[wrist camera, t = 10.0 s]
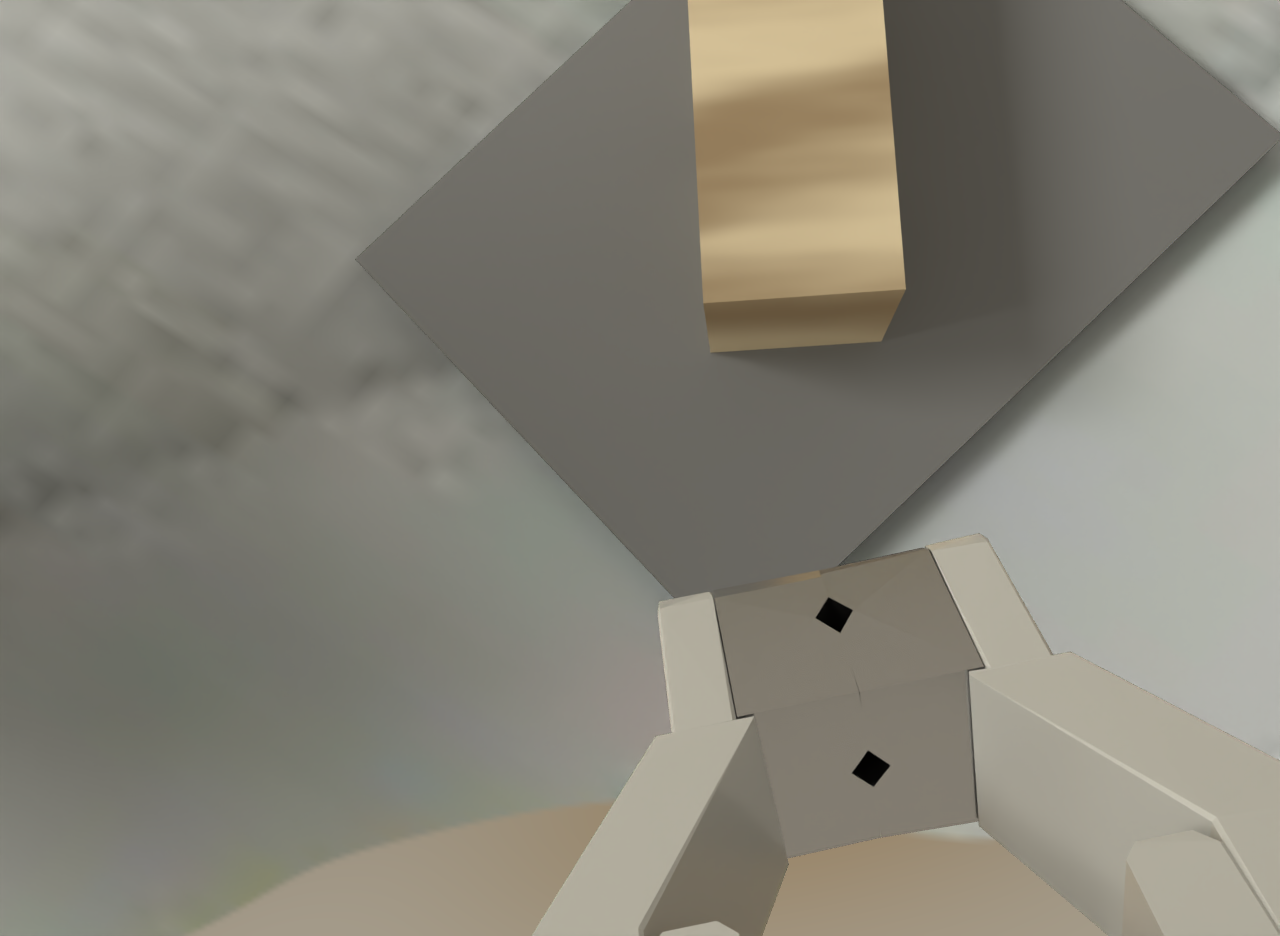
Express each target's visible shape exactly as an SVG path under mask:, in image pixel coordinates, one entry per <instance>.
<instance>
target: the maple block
mask: <svg viewBox="0 0 1280 936" xmlns="http://www.w3.org/2000/svg"><path fill="white" fill-rule="evenodd" d="M688 15H689V34H690V54H691V73H692V93H693V112H694V132H695V151H696V171H697V190H698V210H699V229H700V249H701V268H702V288H703V305H704V312H705V319H706V326H707V332H708V339H709V346H710V353H713V352H728V351H743V350H759V349H774V348H790V347H805V346H820V345H836V344H851V343H866V342H881V341H882V339H883V337H884V335H885V333H886V331H887V328H888V326H889V324H890V322H891V320H892V318H893V316H894V313H895V311H896V309H897V307H898V305H899V303H900V301H901V299H902V296H903V294H904V292H905V290H906V284H905V272H904V259H903V247H902V234H901V222H900V209H899V197H898V184H897V172H896V159H895V147H894V134H893V122H892V109H891V97H890V84H889V72H888V59H887V47H886V34H885V22H884V9H883V0H688Z"/></svg>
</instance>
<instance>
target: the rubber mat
mask: <svg viewBox="0 0 1280 936" xmlns="http://www.w3.org/2000/svg"><path fill="white" fill-rule="evenodd" d="M883 9H884V22H885V34H886V47H887V59H888V72H889V84H890V97H891V109H892V122H893V134H894V147H895V159H896V172H897V184H898V197H899V209H900V222H901V234H902V247H903V259H904V272H905V284H906V290H905V292H904V294H903V296H902V299H901V301H900V303H899V305H898V307H897V309H896V311H895V313H894V316H893V318H892V320H891V322H890V324H889V326H888V328H887V331H886V333H885V335H884V337H883V339H882V341H881V342H866V343H851V344H836V345H820V346H805V347H790V348H774V349H759V350H743V351H728V352H713V353H710V346H709V339H708V332H707V326H706V319H705V312H704V305H703V288H702V268H701V249H700V229H699V210H698V190H697V171H696V151H695V132H694V112H693V93H692V73H691V54H690V34H689V15H688V0H631V1H630V2H629V3H628V4H627V5H626V6H625V7H624V8H623V9H621V10H620V11H619V12H618V13H617V14H616V15H615V16H614V17H613V18H612V19H611V20H610V21H609V22H608V23H607V24H605V25H604V26H603V27H602V28H601V29H600V30H599V31H598V32H597V33H596V34H595V35H594V36H593V37H592V38H591V39H589V40H588V41H587V42H586V43H585V44H584V45H583V46H582V47H581V48H580V49H579V50H578V51H577V52H576V53H575V54H573V55H572V56H571V57H570V58H569V59H568V60H567V61H566V62H565V63H564V64H563V65H562V66H561V67H560V68H559V69H558V70H556V71H555V72H554V73H553V74H552V75H551V76H550V77H549V78H548V79H547V80H546V81H545V82H544V83H543V84H542V85H540V86H539V87H538V88H537V89H536V90H535V91H534V92H533V93H532V94H531V95H530V96H529V97H528V98H527V99H526V100H524V101H523V102H522V103H521V104H520V105H519V106H518V107H517V108H516V109H515V110H514V111H513V112H512V113H511V114H510V115H508V116H507V117H506V118H505V119H504V120H503V121H502V122H501V123H500V124H499V125H498V126H497V127H496V128H495V129H494V130H492V131H491V132H490V133H489V134H488V135H487V136H486V137H485V138H484V139H483V140H482V141H481V142H480V143H479V144H478V145H476V146H475V147H474V148H473V149H472V150H471V151H470V152H469V153H468V154H467V155H466V156H465V157H464V158H463V159H462V160H460V161H459V162H458V163H457V164H456V165H455V166H454V167H453V168H452V169H451V170H450V171H449V172H448V173H447V174H446V175H444V176H443V177H442V178H441V179H440V180H439V181H438V182H437V183H436V184H435V185H434V186H433V187H432V188H431V189H430V190H428V191H427V192H426V193H425V194H424V195H423V196H422V197H421V198H420V199H419V200H418V201H417V202H416V203H415V204H414V205H413V206H411V207H410V208H409V209H408V210H407V211H406V212H405V213H404V214H403V215H402V216H401V217H400V218H399V219H398V220H397V221H395V222H394V223H393V224H392V225H391V226H390V227H389V228H388V229H387V230H386V231H385V232H384V233H383V234H382V235H381V236H379V237H378V238H377V239H376V240H375V241H374V242H373V243H372V244H371V245H370V246H369V247H368V248H367V249H366V250H365V251H363V252H362V253H361V254H360V255H359V256H358V257H357V258H356V259H355V260H356V261H357V262H358V263H359V264H360V265H361V266H362V267H363V268H364V269H365V271H366V272H367V273H368V274H369V275H370V276H371V277H372V278H373V279H374V280H375V281H376V282H377V283H378V284H379V285H380V286H381V287H382V289H383V290H384V291H385V292H386V293H387V294H388V295H389V296H390V297H391V298H392V299H393V300H394V301H395V302H396V303H397V304H398V306H399V307H400V308H401V309H402V310H403V311H404V312H405V313H406V314H407V315H408V316H409V317H410V318H411V319H412V320H413V321H414V323H415V324H416V325H417V326H418V327H419V328H420V329H421V330H422V331H423V332H424V333H425V334H426V335H427V336H428V337H429V338H430V340H431V341H432V342H433V343H434V344H435V345H436V346H437V347H438V348H439V349H440V350H441V351H442V352H443V353H444V354H445V355H446V356H447V358H448V359H449V360H450V361H451V362H452V363H453V364H454V365H455V366H456V367H457V368H458V369H459V370H460V371H461V372H462V373H463V375H464V376H465V377H466V378H467V379H468V380H469V381H470V382H471V383H472V384H473V385H474V386H475V387H476V388H477V389H478V390H479V392H480V393H481V394H482V395H483V396H484V397H485V398H486V399H487V400H488V401H489V402H490V403H491V404H492V405H493V406H494V407H495V409H496V410H497V411H498V412H499V413H500V414H501V415H502V416H503V417H504V418H505V419H506V420H507V421H508V422H509V423H510V424H511V425H512V427H513V428H514V429H515V430H516V431H517V432H518V433H519V434H520V435H521V436H522V437H523V438H524V439H525V440H526V441H527V442H528V444H529V445H530V446H531V447H532V448H533V449H534V450H535V451H536V452H537V453H538V454H539V455H540V456H541V457H542V458H543V459H544V461H545V462H546V463H547V464H548V465H549V466H550V467H551V468H552V469H553V470H554V471H555V472H556V473H557V474H558V475H559V476H560V478H561V479H562V480H563V481H564V482H565V483H566V484H567V485H568V486H569V487H570V488H571V489H572V490H573V491H574V492H575V493H576V494H577V496H578V497H579V498H580V499H581V500H582V501H583V502H584V503H585V504H586V505H587V506H588V507H589V508H590V509H591V510H592V511H593V513H594V514H595V515H596V516H597V517H598V518H599V519H600V520H601V521H602V522H603V523H604V524H605V525H606V526H607V527H608V528H609V530H610V531H611V532H612V533H613V534H614V535H615V536H616V537H617V538H618V539H619V540H620V541H621V542H622V543H623V544H624V545H625V547H626V548H627V549H628V550H629V551H630V552H631V553H632V554H633V555H634V556H635V557H636V558H637V559H638V560H639V561H640V562H641V563H642V565H643V566H644V567H645V568H646V569H647V570H648V571H649V572H650V573H651V574H652V575H653V576H654V577H655V578H656V579H657V580H658V582H659V583H660V584H661V585H662V586H663V587H664V588H665V589H666V590H667V591H668V592H669V593H670V594H671V595H672V596H673V597H674V598H679V597H684V596H690V595H695V594H700V593H705V592H712V593H713V596H714V592H713V590H716V589H722V588H727V587H732V586H738V585H743V584H748V583H753V582H759V581H764V580H769V579H775V578H780V577H785V576H791V575H796V574H801V573H806V572H812V571H817V570H822V569H827V568H832V567H836V566H838V565H839V564H840V563H841V562H842V561H843V560H844V559H845V558H846V557H847V556H849V555H850V554H851V553H852V552H853V551H854V550H855V549H856V548H857V547H858V546H859V545H860V544H861V543H862V542H863V541H864V540H865V539H866V538H867V537H868V536H869V535H870V534H871V533H872V532H873V531H874V530H876V529H877V528H878V527H879V526H880V525H881V524H882V523H883V522H884V521H885V520H886V519H887V518H888V517H889V516H890V515H891V514H892V513H893V512H894V511H895V510H896V509H897V508H898V507H899V506H900V505H901V504H903V503H904V502H905V501H906V500H907V499H908V498H909V497H910V496H911V495H912V494H913V493H914V492H915V491H916V490H917V489H918V488H919V487H920V486H921V485H922V484H923V483H924V482H925V481H926V480H927V479H928V478H930V477H931V476H932V475H933V474H934V473H935V472H936V471H937V470H938V469H939V468H940V467H941V466H942V465H943V464H944V463H945V462H946V461H947V460H948V459H949V458H950V457H951V456H952V455H953V454H954V453H955V452H957V451H958V450H959V449H960V448H961V447H962V446H963V445H964V444H965V443H966V442H967V441H968V440H969V439H970V438H971V437H972V436H973V435H974V434H975V433H976V432H977V431H978V430H979V429H980V428H981V427H982V426H984V425H985V424H986V423H987V422H988V421H989V420H990V419H991V418H992V417H993V416H994V415H995V414H996V413H997V412H998V411H999V410H1000V409H1001V408H1002V407H1003V406H1004V405H1005V404H1006V403H1007V402H1008V401H1009V400H1011V399H1012V398H1013V397H1014V396H1015V395H1016V394H1017V393H1018V392H1019V391H1020V390H1021V389H1022V388H1023V387H1024V386H1025V385H1026V384H1027V383H1028V382H1029V381H1030V380H1031V379H1032V378H1033V377H1034V376H1035V375H1036V374H1038V373H1039V372H1040V371H1041V370H1042V369H1043V368H1044V367H1045V366H1046V365H1047V364H1048V363H1049V362H1050V361H1051V360H1052V359H1053V358H1054V357H1055V356H1056V355H1057V354H1058V353H1059V352H1060V351H1061V350H1062V349H1063V348H1065V347H1066V346H1067V345H1068V344H1069V343H1070V342H1071V341H1072V340H1073V339H1074V338H1075V337H1076V336H1077V335H1078V334H1079V333H1080V332H1081V331H1082V330H1083V329H1084V328H1085V327H1086V326H1087V325H1088V324H1089V323H1090V322H1092V321H1093V320H1094V319H1095V318H1096V317H1097V316H1098V315H1099V314H1100V313H1101V312H1102V311H1103V310H1104V309H1105V308H1106V307H1107V306H1108V305H1109V304H1110V303H1111V302H1112V301H1113V300H1114V299H1115V298H1116V297H1117V296H1119V295H1120V294H1121V293H1122V292H1123V291H1124V290H1125V289H1126V288H1127V287H1128V286H1129V285H1130V284H1131V283H1132V282H1133V281H1134V280H1135V279H1136V278H1137V277H1138V276H1139V275H1140V274H1141V273H1142V272H1143V271H1144V270H1146V269H1147V268H1148V267H1149V266H1150V265H1151V264H1152V263H1153V262H1154V261H1155V260H1156V259H1157V258H1158V257H1159V256H1160V255H1161V254H1162V253H1163V252H1164V251H1165V250H1166V249H1167V248H1168V247H1169V246H1170V245H1171V244H1173V243H1174V242H1175V241H1176V240H1177V239H1178V238H1179V237H1180V236H1181V235H1182V234H1183V233H1184V232H1185V231H1186V230H1187V229H1188V228H1189V227H1190V226H1191V225H1192V224H1193V223H1194V222H1195V221H1196V220H1197V219H1198V218H1200V217H1201V216H1202V215H1203V214H1204V213H1205V212H1206V211H1207V210H1208V209H1209V208H1210V207H1211V206H1212V205H1213V204H1214V203H1215V202H1216V201H1217V200H1218V199H1219V198H1220V197H1221V196H1222V195H1223V194H1224V193H1225V192H1227V191H1228V190H1229V189H1230V188H1231V187H1232V186H1233V185H1234V184H1235V183H1236V182H1237V181H1238V180H1239V179H1240V178H1241V177H1242V176H1243V175H1244V174H1245V173H1246V172H1247V171H1248V170H1249V169H1250V168H1251V167H1252V166H1254V165H1255V164H1256V163H1257V162H1258V161H1259V160H1260V159H1261V158H1262V157H1263V156H1264V155H1265V154H1266V153H1267V152H1268V151H1269V150H1270V149H1271V148H1272V147H1273V146H1274V145H1275V144H1276V143H1277V142H1278V141H1279V140H1280V132H1278V131H1277V130H1276V129H1275V128H1274V127H1272V126H1271V125H1270V124H1269V123H1268V122H1267V121H1265V120H1264V119H1263V118H1262V117H1261V116H1259V115H1258V114H1257V113H1256V112H1255V111H1253V110H1252V109H1251V108H1250V107H1249V106H1247V105H1246V104H1245V103H1244V102H1243V101H1241V100H1240V99H1239V98H1238V97H1237V96H1235V95H1234V94H1233V93H1232V92H1231V91H1229V90H1228V89H1227V88H1226V87H1225V86H1223V85H1222V84H1221V83H1220V82H1219V81H1217V80H1216V79H1215V78H1214V77H1213V76H1211V75H1210V74H1209V73H1208V72H1207V71H1205V70H1204V69H1203V68H1202V67H1201V66H1199V65H1198V64H1197V63H1196V62H1195V61H1193V60H1192V59H1191V58H1190V57H1189V56H1187V55H1186V54H1185V53H1184V52H1183V51H1181V50H1180V49H1179V48H1178V47H1177V46H1175V45H1174V44H1173V43H1172V42H1171V41H1169V40H1168V39H1167V38H1166V37H1165V36H1163V35H1162V34H1161V33H1160V32H1159V31H1158V30H1156V29H1155V28H1154V27H1153V26H1152V25H1150V24H1149V23H1148V22H1147V21H1146V20H1144V19H1143V18H1142V17H1141V16H1140V15H1138V14H1137V13H1136V12H1135V11H1134V10H1132V9H1131V8H1130V7H1129V6H1128V5H1126V4H1125V3H1124V2H1123V1H1122V0H883ZM714 600H715V599H714Z"/></svg>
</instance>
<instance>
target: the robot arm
mask: <svg viewBox="0 0 1280 936" xmlns="http://www.w3.org/2000/svg"><path fill="white" fill-rule="evenodd" d="M713 592H714V596H713V593H712V592H705V593H700V594H695V595H690V596H684V597H679V598H674V599H669V600H664V601H659V606H658V622H659V630H660V639H661V648H662V656H663V665H664V673H665V682H666V690H667V699H668V708H669V716H670V725H671V733H668V734H663V735H659V736H655V738H654V739H653V741H652V743H651V744H650V746H649V747H648V749H647V751H646V752H645V754H644V755H643V757H642V759H641V760H640V762H639V763H638V765H637V767H636V768H635V770H634V772H633V773H632V775H631V776H630V778H629V780H628V781H627V783H626V784H625V786H624V788H623V789H622V791H621V792H620V794H619V796H618V797H617V799H616V800H615V802H614V804H613V805H612V807H611V808H610V810H609V812H608V813H607V815H606V816H605V818H604V820H603V821H602V823H601V825H600V826H599V828H598V830H597V831H596V833H595V834H594V836H593V837H592V839H591V841H590V842H589V844H588V845H587V847H586V849H585V850H584V852H583V853H582V855H581V857H580V858H579V860H578V862H577V863H576V865H575V866H574V868H573V869H572V871H571V873H570V874H569V876H568V878H567V879H566V881H565V883H564V884H563V886H562V887H561V889H560V890H559V892H558V894H557V895H556V897H555V898H554V900H553V902H552V903H551V905H550V906H549V908H548V910H547V912H546V913H545V914H544V916H543V918H542V919H541V921H540V923H539V924H538V926H537V927H536V929H535V931H534V932H533V934H532V936H762V935H763V932H764V929H765V926H766V924H767V921H768V918H769V916H770V913H771V911H772V908H773V905H774V902H775V900H776V897H777V894H778V891H779V889H780V886H781V884H782V881H783V878H784V875H785V873H786V870H787V867H788V865H789V864H788V859H787V858H791V857H796V856H800V855H805V854H809V853H814V852H818V851H823V850H827V849H832V848H836V847H840V846H845V845H850V844H854V843H858V842H863V841H867V840H872V839H876V838H881V837H887V836H893V835H899V834H905V833H911V832H917V831H923V830H929V829H935V828H941V827H947V826H953V825H959V824H965V823H971V822H977V821H979V826H980V827H981V828H982V829H983V830H984V831H986V832H987V833H988V834H989V835H990V836H991V837H993V838H994V839H995V840H996V841H997V842H999V843H1000V844H1001V845H1002V846H1003V847H1004V848H1006V849H1007V850H1008V851H1009V852H1010V853H1011V854H1013V855H1014V856H1015V857H1016V858H1017V859H1019V860H1020V861H1021V862H1022V863H1023V864H1024V865H1026V866H1027V867H1028V868H1029V869H1030V870H1032V871H1033V872H1034V873H1035V874H1036V875H1038V876H1039V877H1040V878H1041V879H1042V880H1043V881H1045V882H1046V883H1047V884H1048V885H1049V886H1050V887H1052V888H1053V889H1054V890H1055V891H1056V892H1057V893H1059V894H1060V895H1061V896H1062V897H1063V898H1065V899H1066V900H1067V901H1068V902H1069V903H1070V904H1072V905H1073V906H1074V907H1075V908H1076V909H1077V910H1079V911H1080V912H1081V913H1082V914H1083V915H1085V916H1086V917H1087V918H1088V919H1089V920H1090V921H1092V922H1093V923H1094V924H1095V925H1096V926H1098V927H1099V928H1100V929H1101V930H1102V931H1103V932H1105V933H1106V934H1107V935H1108V936H1280V761H1279V760H1277V759H1275V758H1274V757H1272V756H1270V755H1268V754H1266V753H1264V752H1262V751H1260V750H1258V749H1256V748H1254V747H1252V746H1251V745H1249V744H1247V743H1245V742H1243V741H1241V740H1239V739H1237V738H1235V737H1233V736H1231V735H1229V734H1228V733H1226V732H1224V731H1222V730H1220V729H1218V728H1216V727H1214V726H1212V725H1210V724H1208V723H1206V722H1205V721H1203V720H1201V719H1199V718H1197V717H1195V716H1193V715H1191V714H1189V713H1187V712H1185V711H1183V710H1182V709H1180V708H1178V707H1176V706H1174V705H1172V704H1170V703H1168V702H1166V701H1164V700H1162V699H1160V698H1159V697H1157V696H1155V695H1153V694H1151V693H1149V692H1147V691H1145V690H1143V689H1141V688H1139V687H1137V686H1136V685H1134V684H1132V683H1130V682H1128V681H1126V680H1124V679H1122V678H1120V677H1118V676H1116V675H1114V674H1113V673H1111V672H1109V671H1107V670H1105V669H1103V668H1101V667H1099V666H1097V665H1095V664H1093V663H1091V662H1090V661H1088V660H1086V659H1084V658H1082V657H1080V656H1078V655H1076V654H1074V653H1072V652H1066V653H1061V654H1056V655H1053V653H1052V651H1051V650H1050V648H1049V646H1048V644H1047V643H1046V641H1045V639H1044V637H1043V636H1042V634H1041V632H1040V630H1039V629H1038V627H1037V625H1036V623H1035V621H1034V620H1033V618H1032V616H1031V614H1030V613H1029V611H1028V609H1027V607H1026V606H1025V604H1024V602H1023V600H1022V599H1021V597H1020V595H1019V593H1018V591H1017V590H1016V588H1015V586H1014V584H1013V583H1012V581H1011V579H1010V577H1009V576H1008V574H1007V572H1006V570H1005V569H1004V567H1003V565H1002V563H1001V562H1000V560H999V558H998V556H997V554H996V553H995V551H994V549H993V547H992V546H991V544H990V542H989V540H988V539H987V538H986V537H984V536H983V535H981V534H980V533H978V534H974V535H969V536H965V537H961V538H957V539H952V540H948V541H944V542H939V543H935V544H931V545H927V546H925V548H919V549H914V550H909V551H905V552H900V553H896V554H891V555H887V556H882V557H877V558H873V559H868V560H864V561H859V562H855V563H850V564H845V565H841V566H836V567H832V568H827V569H822V570H817V571H812V572H806V573H801V574H796V575H791V576H785V577H780V578H775V579H769V580H764V581H759V582H753V583H748V584H743V585H738V586H732V587H727V588H722V589H716V590H713ZM714 599H715V600H714Z"/></svg>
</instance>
